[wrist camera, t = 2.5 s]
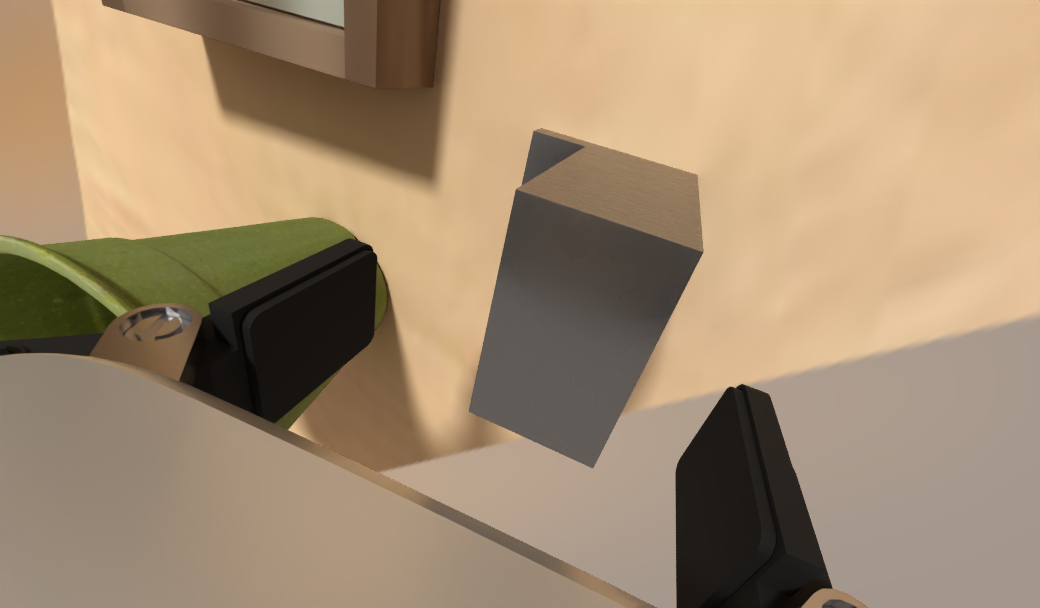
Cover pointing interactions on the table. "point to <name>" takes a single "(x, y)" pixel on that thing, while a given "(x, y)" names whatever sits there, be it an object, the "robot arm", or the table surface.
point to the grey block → (583, 290)
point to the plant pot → (151, 277)
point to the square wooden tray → (316, 33)
